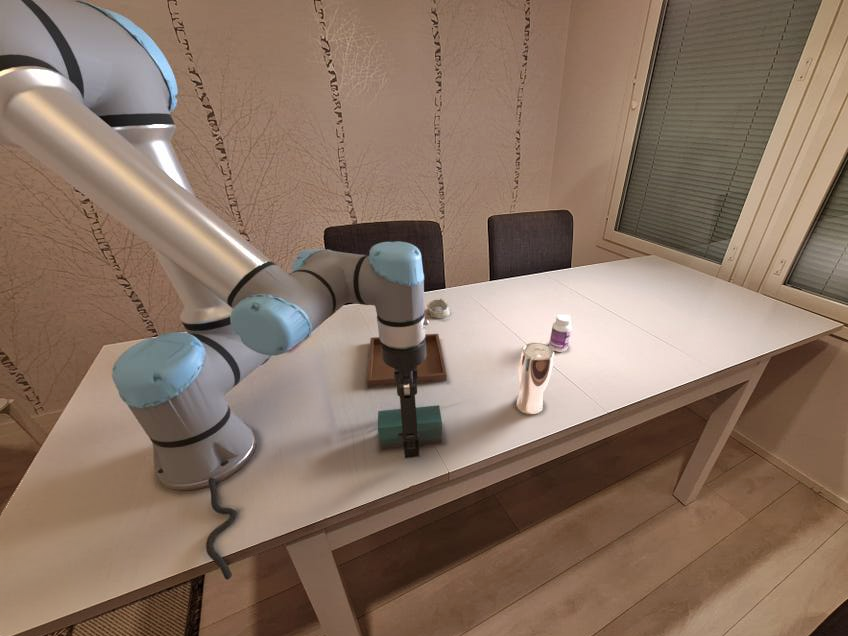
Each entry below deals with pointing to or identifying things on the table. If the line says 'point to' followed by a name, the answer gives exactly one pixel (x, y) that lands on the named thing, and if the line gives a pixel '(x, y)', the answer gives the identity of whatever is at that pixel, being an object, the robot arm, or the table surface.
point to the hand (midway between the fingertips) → (410, 429)
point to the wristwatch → (438, 303)
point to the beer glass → (534, 376)
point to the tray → (426, 371)
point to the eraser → (426, 425)
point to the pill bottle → (560, 333)
